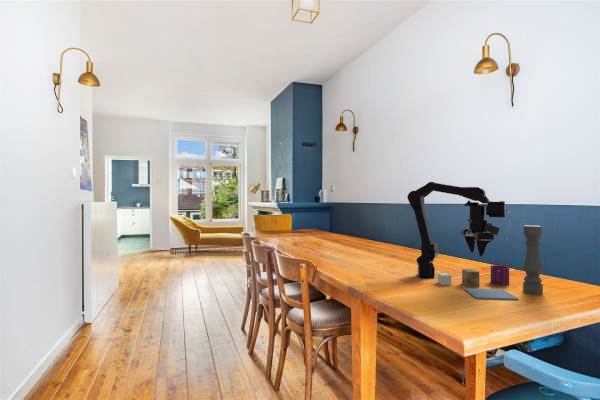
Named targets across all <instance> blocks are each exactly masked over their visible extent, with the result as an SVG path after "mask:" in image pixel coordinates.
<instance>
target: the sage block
mask: <svg viewBox="0 0 600 400" xmlns="http://www.w3.org/2000/svg"><path fill="white" fill-rule="evenodd" d="M437 284H439V285H442V286H451V285H452V275H451V274H449V273H447V272H444V273H442V272H441V273H439V272H438V273H437Z"/></svg>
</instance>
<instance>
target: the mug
mask: <svg viewBox="0 0 600 400" xmlns="http://www.w3.org/2000/svg"><path fill="white" fill-rule="evenodd" d="M490 283H491V284H493V285H499V286H509V285H510V267H509V266H506V265H499V264H498V265H497V264H496V265H495V264H494V265H490Z"/></svg>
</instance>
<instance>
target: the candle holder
mask: <svg viewBox="0 0 600 400" xmlns="http://www.w3.org/2000/svg"><path fill="white" fill-rule="evenodd" d="M542 227H543V226H542V225H534V224H533V225H532V224H531V225H530V224H526V225H525V224H524V225H523V236H524V238H525V239H526V240H525V241H524V242H523V243H524V245H525V246H526V247H525V248H526V251H525V252H526V254H525V257H524V261H523V264H522V268H523V270H524V272H525V276H524V277H523V280H524V281H522V292H523V293H525V294H529V295H537V296H538V295H543V294H544V285H543V280H542V279H541V277H540V276H541V273H542V272H543V264H542V259H541V257H540V254H539V253H540V249H539V248H540V245H541V244H542V242H541V241H540V239H541V237H542V234H543V231H542V230H543V228H542Z"/></svg>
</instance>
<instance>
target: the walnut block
mask: <svg viewBox="0 0 600 400" xmlns="http://www.w3.org/2000/svg"><path fill="white" fill-rule="evenodd" d="M461 280H462V282H461V283H462V285H464V286H465V287H469V288H471V287H473V288H475V287H476V288H478V287H480V271H479V270H477V269H473V268H469V269H468V268H467V269H466V268H463V269H461Z"/></svg>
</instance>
